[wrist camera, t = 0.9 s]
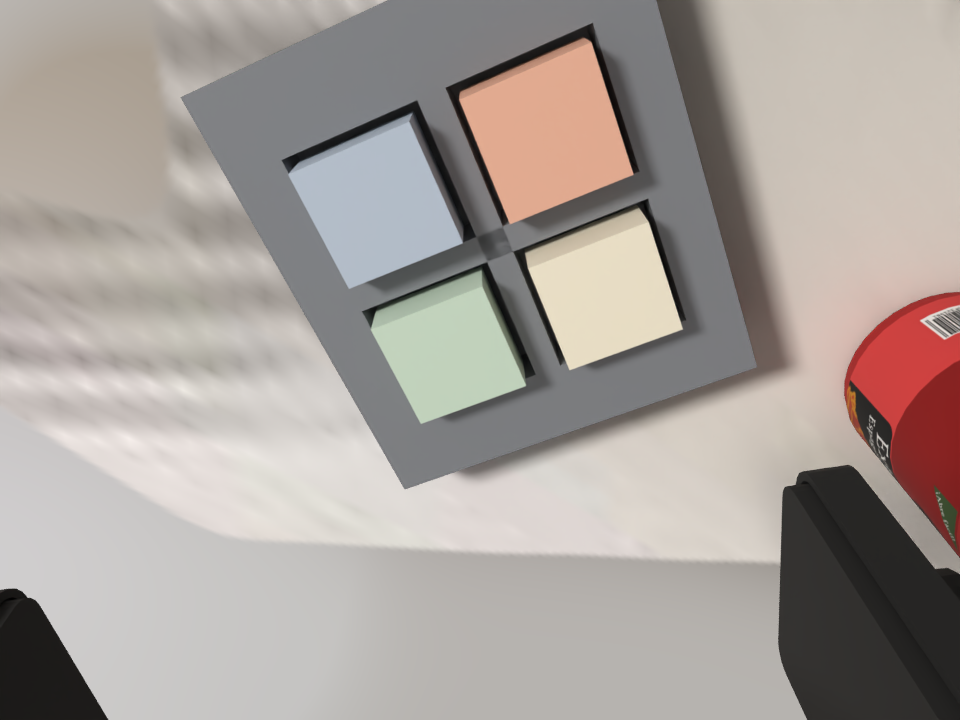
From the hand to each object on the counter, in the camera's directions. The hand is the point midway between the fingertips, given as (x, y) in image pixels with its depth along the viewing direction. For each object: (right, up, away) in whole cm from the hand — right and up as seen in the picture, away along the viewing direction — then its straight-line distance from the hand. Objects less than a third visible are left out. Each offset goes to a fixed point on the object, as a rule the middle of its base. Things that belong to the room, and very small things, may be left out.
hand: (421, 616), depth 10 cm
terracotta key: (+3, +11, +16) cm, 20 cm away
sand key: (+5, +6, +19) cm, 20 cm away
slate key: (-3, +9, +17) cm, 20 cm away
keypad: (+1, +9, +20) cm, 22 cm away
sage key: (0, +4, +20) cm, 20 cm away
